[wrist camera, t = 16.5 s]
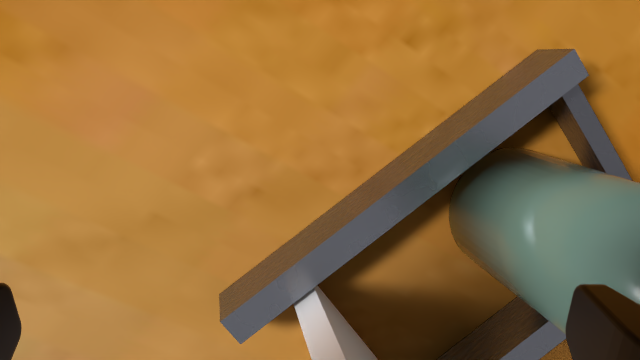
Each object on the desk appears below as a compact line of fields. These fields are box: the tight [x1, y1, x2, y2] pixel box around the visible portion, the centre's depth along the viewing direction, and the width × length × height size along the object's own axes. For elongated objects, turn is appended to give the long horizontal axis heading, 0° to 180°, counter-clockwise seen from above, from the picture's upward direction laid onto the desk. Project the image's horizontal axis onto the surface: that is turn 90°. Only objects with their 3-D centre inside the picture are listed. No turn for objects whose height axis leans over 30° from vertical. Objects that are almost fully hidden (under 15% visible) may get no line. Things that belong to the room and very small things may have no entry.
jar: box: [449, 148, 640, 334], centre depth 19 cm, size 6×6×13 cm
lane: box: [219, 49, 632, 360], centre depth 23 cm, size 16×10×2 cm, turn 126°
